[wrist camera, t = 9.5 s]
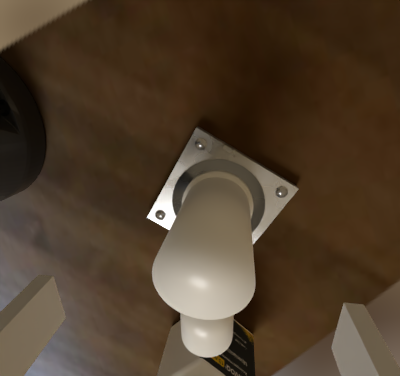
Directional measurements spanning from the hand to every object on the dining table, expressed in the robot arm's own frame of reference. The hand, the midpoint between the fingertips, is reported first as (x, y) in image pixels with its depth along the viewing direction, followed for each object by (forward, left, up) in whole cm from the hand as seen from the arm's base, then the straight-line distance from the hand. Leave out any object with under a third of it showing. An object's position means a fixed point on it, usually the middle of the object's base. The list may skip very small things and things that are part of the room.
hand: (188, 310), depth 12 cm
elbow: (+1, -1, -12) cm, 12 cm away
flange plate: (0, 0, -13) cm, 13 cm away
